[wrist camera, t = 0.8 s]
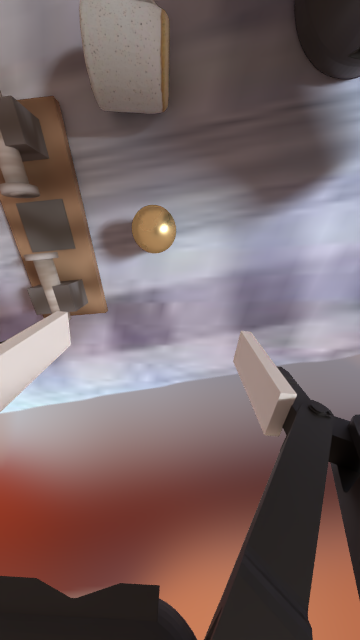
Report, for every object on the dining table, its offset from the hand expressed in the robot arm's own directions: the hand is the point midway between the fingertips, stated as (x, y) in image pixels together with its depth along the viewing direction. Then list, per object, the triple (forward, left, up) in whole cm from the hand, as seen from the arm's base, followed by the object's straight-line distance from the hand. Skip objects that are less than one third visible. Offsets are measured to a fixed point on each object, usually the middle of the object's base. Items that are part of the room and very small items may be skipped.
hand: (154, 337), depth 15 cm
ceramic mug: (-18, -19, -20) cm, 33 cm away
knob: (-5, -6, -20) cm, 22 cm away
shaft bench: (+5, -19, -20) cm, 28 cm away
